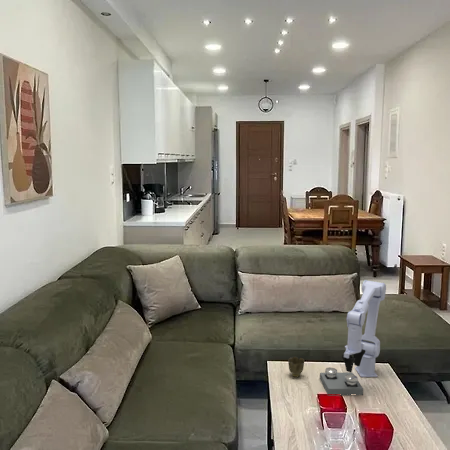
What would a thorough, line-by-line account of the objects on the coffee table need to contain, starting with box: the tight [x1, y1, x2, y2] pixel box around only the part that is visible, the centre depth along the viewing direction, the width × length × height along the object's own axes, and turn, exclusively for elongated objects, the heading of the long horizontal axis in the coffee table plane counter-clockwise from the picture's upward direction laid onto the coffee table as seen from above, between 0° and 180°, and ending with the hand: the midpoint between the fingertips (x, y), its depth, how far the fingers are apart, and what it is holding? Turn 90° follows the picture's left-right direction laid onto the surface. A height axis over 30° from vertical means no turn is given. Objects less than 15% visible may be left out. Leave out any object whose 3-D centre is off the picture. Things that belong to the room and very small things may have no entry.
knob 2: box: [345, 374, 359, 387], centre depth 204 cm, size 5×5×4 cm
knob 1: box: [324, 366, 338, 379], centre depth 211 cm, size 5×5×4 cm
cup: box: [287, 356, 305, 378], centre depth 217 cm, size 8×7×8 cm
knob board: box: [319, 371, 364, 396], centre depth 208 cm, size 15×15×3 cm
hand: (352, 368), depth 203 cm, fingers open, 7 cm apart
